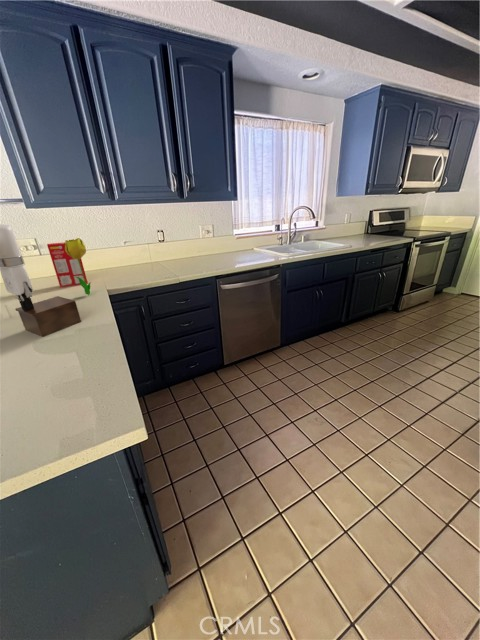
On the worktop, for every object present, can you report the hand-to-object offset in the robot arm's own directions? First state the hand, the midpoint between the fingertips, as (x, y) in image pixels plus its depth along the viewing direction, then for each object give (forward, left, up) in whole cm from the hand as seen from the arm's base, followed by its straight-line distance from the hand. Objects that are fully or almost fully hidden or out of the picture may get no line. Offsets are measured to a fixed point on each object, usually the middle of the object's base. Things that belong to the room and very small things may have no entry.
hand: (28, 309), depth 101 cm
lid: (+5, +4, -1) cm, 6 cm away
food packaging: (+7, +69, -10) cm, 70 cm away
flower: (+16, +41, -10) cm, 45 cm away
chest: (+5, +4, -10) cm, 12 cm away
